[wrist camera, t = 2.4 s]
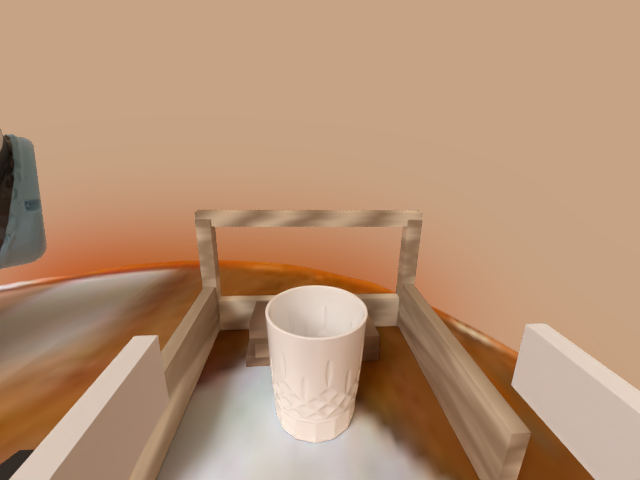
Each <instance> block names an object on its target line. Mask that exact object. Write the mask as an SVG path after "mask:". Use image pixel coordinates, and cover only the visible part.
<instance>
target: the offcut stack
mask: <svg viewBox="0 0 640 480" xmlns="http://www.w3.org/2000/svg"><path fill="white" fill-rule="evenodd" d="M268 303H269V301H256V304H255V307H254V310H253V314H252V317H251V320H250V323H249V336H250V339H249V343H248V348H247V353H246V367H253V366H270V359H269V347H268V336H267V326H266V316H265V310H266V306H267V304H268ZM379 341H380V335H379V333H378V331H377V329H376V327H375V325H374V324H373V322H372V320H371V318H370V316H369V314H368V316H367V324H366V331H365V339H364V348H363V356H362V361H376V360H379V351H380V350H379Z"/></svg>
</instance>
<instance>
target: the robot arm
mask: <svg viewBox="0 0 640 480" xmlns="http://www.w3.org/2000/svg"><path fill="white" fill-rule="evenodd" d="M45 251H46V237H45V230H44V223H43V215H42V208H41V200H40V192H39V184H38V176H37V169H36V162H35V154H34V146H33V144H32V142H31V141H29V140H28V139H26V138H22V137H16V136H14V135H12V134H11V135H4V136H3V135H2V132H1V130H0V269H3V268H8V267H12V266H18V265H23V264H27V263H32V262H34V261H36V260H37V259H39V258H41V257H42V256H43V254H44V253H45ZM511 385H512V386H513V388H514V389H515V390H516V391H517V392H518V393H519V394H520V396H521V397H522V398H523V399H524V400H525V401H526V402H527V403H528V405H529V406H530V407H531V408H532V409H533V410H534V411H535V412H536V414H537V415H538V416H539V417H540V418H541V419H542V420H543V421H544V423H545V424H546V425H547V426H548V427H549V428H550V429H551V430H552V432H553V433H554V434H555V435H556V436H557V437H558V438H559V440H560V441H561V442H562V443H563V444H564V445H565V446H566V447H567V449H568V450H569V451H570V452H571V453H572V454H573V455H574V456H575V458H576V459H577V460H578V461H579V462H580V463H581V464H582V465H583V467H584V468H585V469H586V470H587V471H588V472H589V473H590V474H591V476H592V477H593V478H594V479H595V480H640V391H639V390H637V389H636V388H634V387H633V386H632V385H630V384H629V383H628V382H626V381H625V380H623V379H622V378H621V377H619V376H618V375H616V374H615V373H614V372H612V371H611V370H609V369H608V368H607V367H605V366H604V365H603V364H601V363H600V362H598V361H597V360H595V359H594V358H593V357H591V356H590V355H589V354H587V353H586V352H585V351H583V350H582V349H580V348H579V347H578V346H576V345H575V344H573V343H572V342H571V341H569V340H568V339H566V338H565V337H563V336H562V335H561V334H560V333H558V332H557V331H555V330H554V329H552V328H551V327H550V326H548V325H547V324H526V325H525V330H524V334H523V338H522V343H521V346H520V350H519V355H518V359H517V363H516V367H515V371H514V376H513V380H512V384H511ZM168 401H169V397H168V391H167V386H166V380H165V374H164V369H163V363H162V357H161V352H160V346H159V340H158V335H152V336H134V337H133V338H132V339H131V340H130V342H129V343H128V344H127V345H126V346H125V347H124V348H123V350H122V351H121V352H120V353H119V354H118V355H117V356H116V358H115V359H114V360H113V361H112V362H111V363H110V364H109V366H108V367H107V368H106V369H105V370H104V371H103V373H102V374H101V375H100V376H99V377H98V378H97V379H96V381H95V382H94V383H93V384H92V385H91V386H90V387H89V389H88V390H87V391H86V392H85V393H84V394H83V395H82V397H81V398H80V399H79V400H78V401H77V402H76V403H75V405H74V406H73V407H72V408H71V409H70V410H69V411H68V413H67V414H66V415H65V416H64V417H63V418H62V420H61V421H60V422H59V423H58V424H57V425H56V426H55V428H54V429H53V430H52V431H51V432H50V433H49V434H48V436H47V437H46V438H45V439H44V440H43V441H42V442H41V444H40V445H39V446H38V447H37V448H36V449H35V450H19V451H18V452H17V453H15V454H14V455H13V456H11V457H10V458H9V459H7V460H6V461H5V462H3V463H2V464H1V465H0V480H128V479H129V477H130V475H131V473H132V471H133V469H134V467H135V465H136V463H137V461H138V459H139V457H140V455H141V453H142V451H143V450H144V448H145V446H146V444H147V442H148V440H149V438H150V436H151V434H152V432H153V430H154V428H155V426H156V424H157V422H158V420H159V418H160V417H161V415H162V413H163V411H164V409H165V407H166V405H167V403H168Z"/></svg>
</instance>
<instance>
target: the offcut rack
mask: <svg viewBox="0 0 640 480" xmlns="http://www.w3.org/2000/svg"><path fill="white" fill-rule="evenodd" d="M195 219H196V220H195V224H196V234H197V242H198V251H199V260H200V269H201V278H202V287H203V290H202V291H201V293H200V294H199V296H198V297H197V299H196V300H195V302H194V303H193V305H192V306H191V308H190V309H189V311H188V312H187V314H186V315H185V317H184V318H183V320H182V321H181V323H180V324H179V326H178V327H177V329H176V330H175V332H174V333H173V335H172V337H171V338H170V340H169V341H168V343H167V344H166V346H165V347H164V349H163V350H162V352H161V357H162V363H163V369H164V374H165V380H166V386H167V391H168V397H169V401H168V403H167V405H166V407H165V409H164V411H163V413H162V415H161V417H160V418H159V420H158V422H157V424H156V426H155V428H154V430H153V432H152V434H151V436H150V438H149V440H148V442H147V444H146V446H145V448H144V450H143V451H142V453H141V455H140V457H139V459H138V461H137V463H136V465H135V467H134V469H133V471H132V473H131V475H130V477H129V479H128V480H156V478H157V476H158V473H159V471H160V469H161V466H162V464H163V462H164V459H165V457H166V455H167V452H168V450H169V447H170V445H171V443H172V440H173V438H174V436H175V433H176V431H177V429H178V426H179V424H180V422H181V419H182V417H183V415H184V412H185V410H186V408H187V405H188V403H189V401H190V398H191V396H192V394H193V391H194V389H195V387H196V384H197V382H198V379H199V377H200V375H201V372H202V370H203V368H204V365H205V363H206V361H207V358H208V356H209V354H210V351H211V349H212V347H213V344H214V342H215V340H216V337H217V335H218V333H219V331H221V330H240V329H249V323H250V320H251V317H252V314H253V310H254V307H255V304H256V301H270V300H271V299H272V298H273V297H275V296H276V295H266V296H221V286H220V275H219V265H218V254H217V243H216V232H215V227H220V226H221V227H233V226H235V227H247V226H248V227H255V226H257V227H263V226H264V227H268V226H269V227H277V226H279V227H285V226H286V227H293V226H294V227H304V226H305V227H306V226H307V227H308V226H309V227H311V226H315V227H317V226H319V227H327V226H328V227H330V226H331V227H334V226H335V227H340V226H341V227H342V226H343V227H345V226H346V227H350V226H351V227H355V226H357V227H359V226H361V227H362V226H363V227H364V226H365V227H368V226H369V227H373V226H374V227H381V226H382V227H388V226H389V227H391V226H392V227H393V226H394V227H395V226H396V227H399V226H402V227H403V230H402V240H401V249H400V259H399V268H398V279H397V287H396V294H354V295H356V296H357V297H359V298H360V299H361V300H362V301H363V302H364V304H365V305H366V307H367V311H368V314H369V316H370V318H371V320H372V322H373V324H374V325H375V326H397V327H399V329H400V331H401V333H402V335H403V337H404V338H405V340H406V342H407V344H408V346H409V348H410V350H411V351H412V353H413V355H414V357H415V359H416V361H417V363H418V365H419V366H420V368H421V370H422V372H423V374H424V376H425V378H426V380H427V381H428V383H429V385H430V387H431V389H432V391H433V393H434V395H435V396H436V398H437V400H438V402H439V404H440V406H441V408H442V410H443V411H444V413H445V415H446V417H447V419H448V421H449V423H450V424H451V426H452V428H453V430H454V432H455V434H456V436H457V438H458V439H459V441H460V443H461V445H462V447H463V449H464V451H465V453H466V454H467V456H468V458H469V460H470V462H471V464H472V466H473V468H474V469H475V471H476V473H477V475H478V477H479V479H480V480H517V478H518V474H519V471H520V468H521V465H522V461H523V458H524V455H525V452H526V448H527V445H528V442H529V439H530V435H531V432H530V430H529V429H528V428H527V427H526V425H525V424H524V423H523V422H522V420H521V419H520V418H519V417H518V415H517V414H516V413H515V412H514V410H513V409H512V408H511V407H510V405H509V404H508V403H507V402H506V400H505V399H504V398H503V397H502V395H501V394H500V393H499V392H498V390H497V389H496V388H495V387H494V385H493V384H492V383H491V382H490V380H489V379H488V378H487V377H486V375H485V374H484V373H483V372H482V370H481V369H480V368H479V366H478V365H477V364H476V363H475V361H474V360H473V359H472V358H471V356H470V355H469V354H468V353H467V351H466V350H465V349H464V348H463V346H462V345H461V344H460V343H459V341H458V340H457V339H456V338H455V336H454V335H453V334H452V333H451V331H450V330H449V329H448V328H447V326H446V325H445V324H444V323H443V321H442V320H441V319H440V318H439V316H438V315H437V314H436V313H435V311H434V310H433V309H432V308H431V306H430V305H429V304H428V303H427V301H426V300H425V299H424V298H423V296H422V295H421V294H420V293H419V291H418V290H417V289H416V288H415V286H414V282H415V275H416V267H417V258H418V250H419V243H420V234H421V227H422V212H420V211H378V210H377V211H376V210H374V211H373V210H370V211H368V210H367V211H366V210H360V211H357V210H354V211H353V210H197V211H196V212H195Z"/></svg>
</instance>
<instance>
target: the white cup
mask: <svg viewBox="0 0 640 480" xmlns="http://www.w3.org/2000/svg"><path fill="white" fill-rule="evenodd" d="M265 316H266V326H267V336H268V347H269V359H270V368H271V374H272V384H273V390H274V394H275V405H276V414H277V417H278V419H279V421H280V423H281V426H282V428H283V429H284V430H285V431H287V432H288V433H289V434H291V435H292V436H293V437H294V438H296V439H298V440H303V441H308V442H312V443H318V442H322V441H327V440H331V439H334V438H336V437H337V436H338V435H339V434H341V433H342V432H343V431H344V430H346V429H347V428H348V426H349V423H350V421H351V419H352V416H353V414H354V407H355V398H356V393H357V389H358V384H359V375H360V370H361V364H362V356H363V348H364V339H365V331H366V324H367V316H368V311H367V307H366V305H365V304H364V302H363V301H362V300H361V299H360V298H359V297H357V296H356V295H354V294H352V293H350V292H348V291H346V290H343V289H340V288H336V287H330V286H321V285H310V286H301V287H296V288H292V289H289V290H286V291H283V292H281V293H279V294H278V295H276V296H275V297H273V298H272V299H271V300H270V301H269V303H268V304H267V306H266V310H265Z"/></svg>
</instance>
